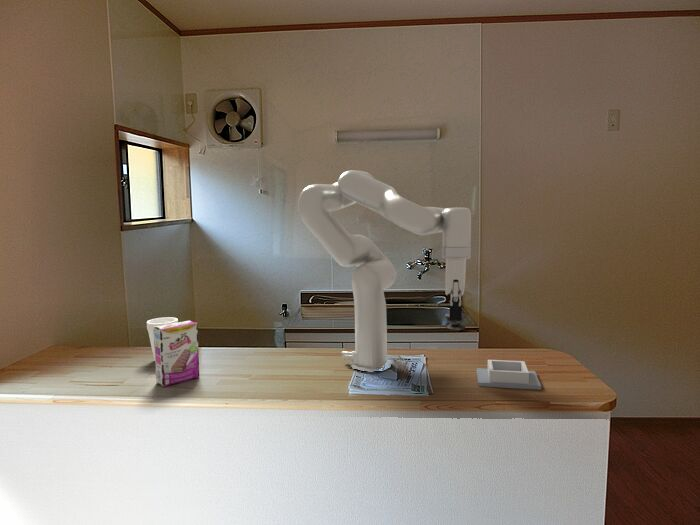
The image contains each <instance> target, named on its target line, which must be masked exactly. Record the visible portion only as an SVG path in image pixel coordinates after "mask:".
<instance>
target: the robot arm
mask: <svg viewBox="0 0 700 525" xmlns="http://www.w3.org/2000/svg"><path fill="white" fill-rule="evenodd" d="M297 202H298V203H297V210H298V215H299V217H300V220H301V222H302V223H303V225H304V226H305V228H306V229H307V230H308V231H309V232H310V233H311V234H312V235H313V237H314V238H316V240H317V241H318V242H319V243H320V244H321V246H322V247H323V248H324V250H325V251H326V252H327V253H328V254H329V255H330V256H331V258H332V259H333V260H334V261H335V262H336V263H337V264H338V266H341V267H342V268H350V267H356V268H355V270H354V271H353V272H352V276H351V290H352V294H353V304H354V305H353V306H354V307H353V308H354V336H355V337H354V342H355V343H354V345H355V346H354V347H355V348H354V350H352V351H347V350H346V351H344V350H342V351H341V358H343V359H344V360H351V361H350V367H352V369H353V370H354V369H358V370H364V371H374V370H379V369H381V368H383V367H382V366H383V365H384V364H385V363H386V362H387V359H388V347H387V346H388V339H387V337H388V332H387V331H388V327H387V326H388V322H387V302H386V297H385V292H384V291H385V290H386V289H388V288H390V287H392V286H393V285H394V283H395V281H396V278H397V271H396V268H395V267H394V264H393V263H392V262H391V260H390V259H389V258H387V256H386V255H385V254H384V253H383V252H382V251H381V250H380V248H379V247H378V246H377V245H376V244H375V243H374V241H372V240H371V239H370V238H368V237H367V236H365V235H362V234H351V233H349V231H348V230H346V228H345V227H344V226H343V225H342V224H341V222H340V221H338V220H337V219H336V218H335V217H334V216H332V215H331V214H330V213H329V212H337V211H339V210H342V209H344V208H347V207H350V206H352V205H355V204H358V205H361V206H362V207H365V208H366V209H368V210H371V211H372V212H375V213H377V214H379V215H381V217H383V218H385V219H386V220H387V221H389V222H391V223H392V224H394V225H396V226H397V227H399V228H401V229H404V230H407V231H408V232H411V233H412V234H415V235H418V236H428V235H433V234H437V233H438V234H439V233H442V259H444V260H445V289H444V290H445V292H444V293H445V295H446V296H448V295H449V294H450V300H451V306H450V305H449V312H450V320H453V321H461V320H462V313H463V309H462V308H463V306H462V305H463V302H462V303H461V301H462V296H463V295H464V293H465V286H466V274H467V272H466V270H467V267H466V266H467V264H466V263H467V260H469V259H471V249H472V248H471V247H472V246H471V245H472V244H471V243H472V241H471V237H472V211H471V210H470V208H468V207H463V206H462V207H458V206H456V207H446V208H445V207H436V206H422V205H420V204H417V203H415V202H413V201H411V200H408V199H407V198H405V197H403V196H401V195H400V194H399V193H398V192H397V190H396V189H395V188H394V187H393V186H391V185H389V184H387V183H384V182H383V181H380V180H378V179H377V178H374V176H373V175H372V174H371V173H369V172H367V171H363V170H355V169H350V170H347V171H344V172H342V174H341V175H340V176H339V178H338V180H337V182H334V183H332V184H331V183H330V184H326V183H325V184H324V183H313V184H310V185H307V186H306V187H304V189H302V191H301V193H300V195H299V196H298V201H297ZM452 293H453V294H452ZM458 293H460V294H458ZM458 297H459V298H458Z"/></svg>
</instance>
